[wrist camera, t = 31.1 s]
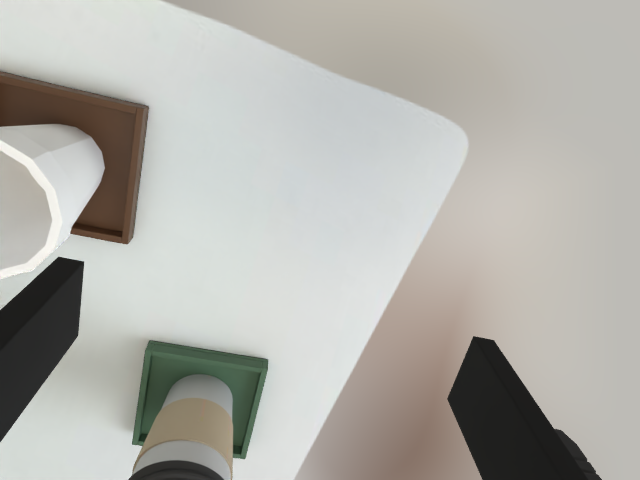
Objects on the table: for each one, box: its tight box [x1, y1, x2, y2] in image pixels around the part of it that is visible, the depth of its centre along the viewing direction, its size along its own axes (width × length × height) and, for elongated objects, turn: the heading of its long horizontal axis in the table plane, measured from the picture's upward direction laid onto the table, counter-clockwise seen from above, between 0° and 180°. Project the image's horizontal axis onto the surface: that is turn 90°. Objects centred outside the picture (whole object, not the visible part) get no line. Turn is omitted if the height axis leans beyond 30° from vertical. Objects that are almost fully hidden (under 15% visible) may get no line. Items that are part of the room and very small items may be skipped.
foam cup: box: [0, 124, 105, 279], centre depth 36 cm, size 10×9×13 cm
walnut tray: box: [0, 72, 149, 244], centre depth 42 cm, size 12×12×2 cm
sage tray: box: [132, 341, 268, 459], centre depth 52 cm, size 12×12×2 cm
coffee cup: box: [129, 374, 233, 480], centre depth 46 cm, size 9×9×15 cm
